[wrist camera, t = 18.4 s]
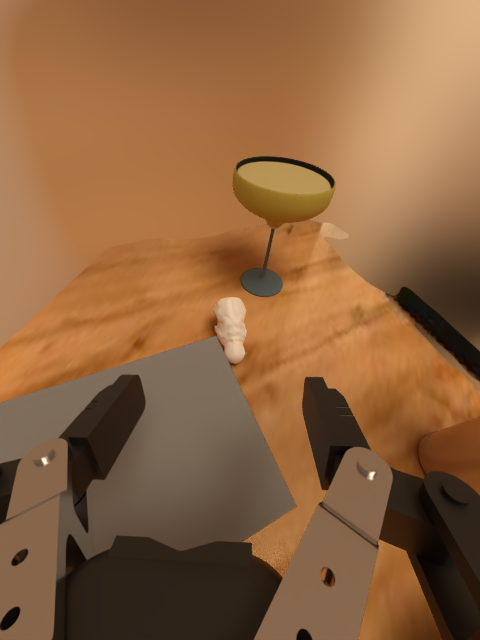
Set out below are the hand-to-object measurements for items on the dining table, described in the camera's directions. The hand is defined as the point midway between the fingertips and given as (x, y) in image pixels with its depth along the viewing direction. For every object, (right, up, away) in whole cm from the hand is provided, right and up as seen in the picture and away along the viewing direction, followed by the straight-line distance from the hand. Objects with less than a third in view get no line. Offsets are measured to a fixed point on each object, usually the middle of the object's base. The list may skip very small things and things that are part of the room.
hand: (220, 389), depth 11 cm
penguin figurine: (-1, -1, +36) cm, 36 cm away
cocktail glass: (+6, +13, +48) cm, 50 cm away
